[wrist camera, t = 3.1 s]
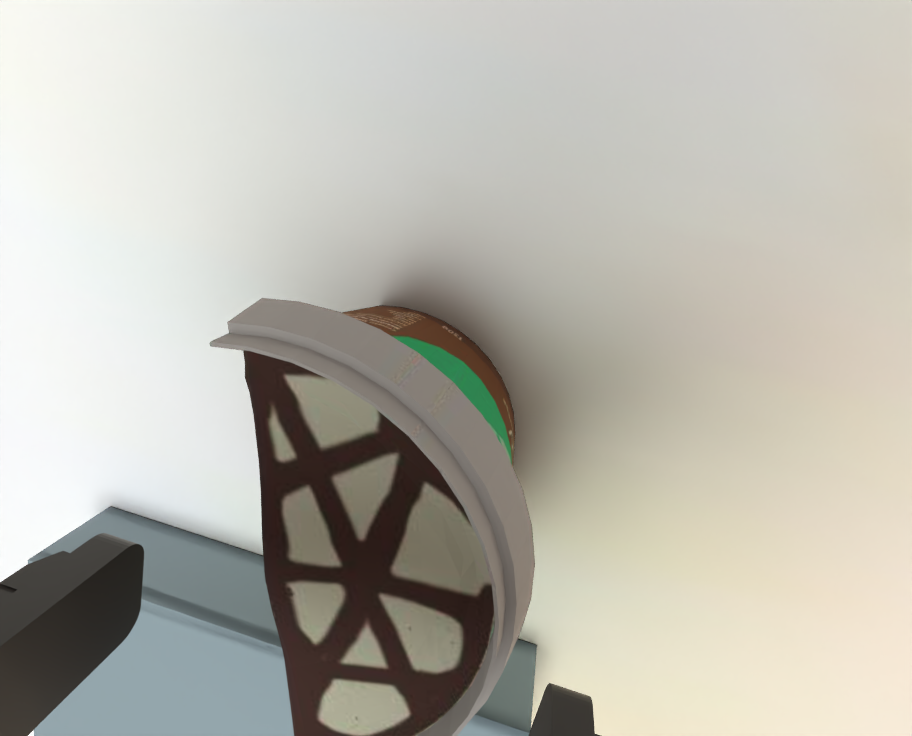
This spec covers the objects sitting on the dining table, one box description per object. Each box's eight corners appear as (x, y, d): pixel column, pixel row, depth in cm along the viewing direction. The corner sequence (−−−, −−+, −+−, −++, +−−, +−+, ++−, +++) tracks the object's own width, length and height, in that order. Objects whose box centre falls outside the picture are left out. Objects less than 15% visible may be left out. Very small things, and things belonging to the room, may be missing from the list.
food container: (543, 577, 22) (524, 853, 13) (395, 562, 23) (276, 804, 14) (551, 263, 19) (533, 320, 9) (377, 264, 20) (205, 314, 10)
